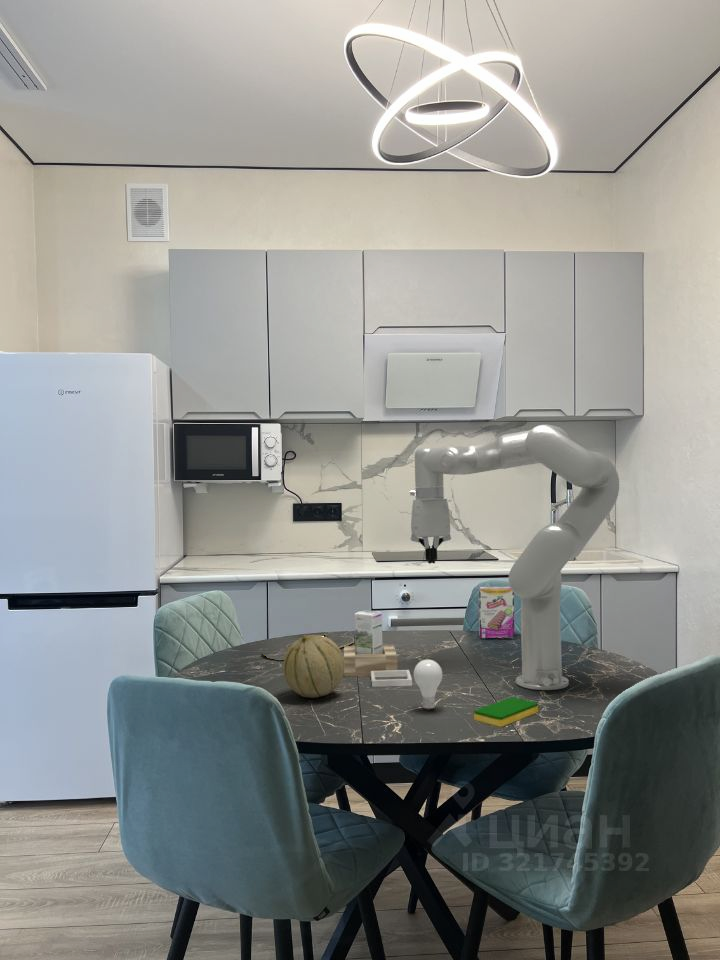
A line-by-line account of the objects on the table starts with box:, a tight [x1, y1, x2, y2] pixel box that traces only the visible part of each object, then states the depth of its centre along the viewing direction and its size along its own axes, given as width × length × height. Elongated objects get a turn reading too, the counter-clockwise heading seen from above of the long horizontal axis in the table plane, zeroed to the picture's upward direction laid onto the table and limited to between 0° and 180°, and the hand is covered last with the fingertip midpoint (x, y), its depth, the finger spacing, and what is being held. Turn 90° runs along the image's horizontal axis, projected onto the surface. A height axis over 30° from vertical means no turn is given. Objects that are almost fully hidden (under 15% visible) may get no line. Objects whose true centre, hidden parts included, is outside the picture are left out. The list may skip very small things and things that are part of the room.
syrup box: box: [354, 609, 384, 655], centre depth 203 cm, size 6×6×14 cm
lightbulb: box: [413, 659, 443, 711], centre depth 165 cm, size 6×6×11 cm
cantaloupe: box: [282, 634, 345, 699], centre depth 177 cm, size 15×15×15 cm
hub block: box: [343, 644, 398, 677], centre depth 203 cm, size 14×14×5 cm
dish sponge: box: [473, 696, 539, 728], centre depth 159 cm, size 7×14×2 cm, turn 133°
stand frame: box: [370, 669, 413, 688], centre depth 190 cm, size 10×10×2 cm
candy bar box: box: [478, 586, 515, 639], centre depth 239 cm, size 11×5×16 cm, turn 84°
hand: (431, 562), depth 198 cm, fingers closed
